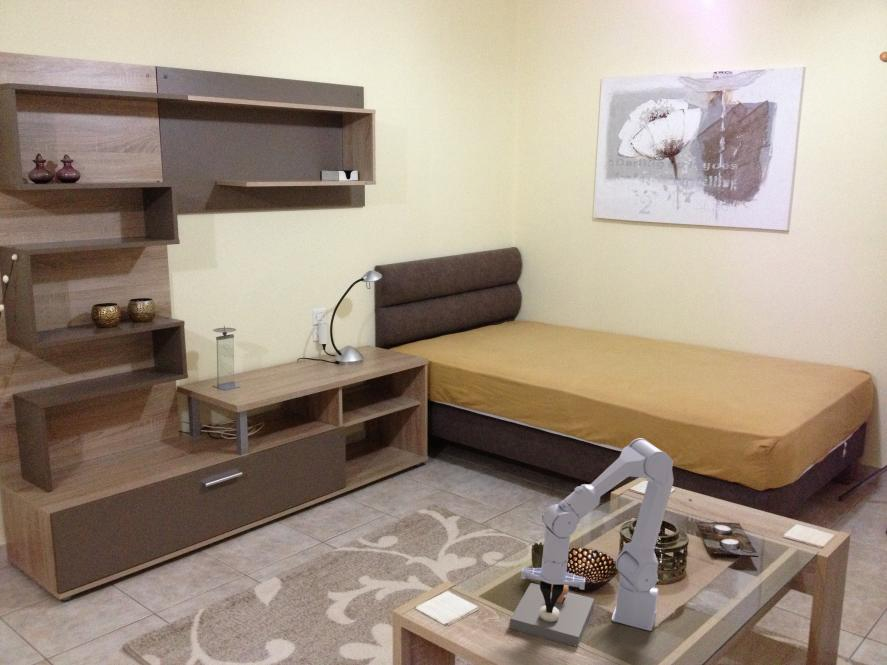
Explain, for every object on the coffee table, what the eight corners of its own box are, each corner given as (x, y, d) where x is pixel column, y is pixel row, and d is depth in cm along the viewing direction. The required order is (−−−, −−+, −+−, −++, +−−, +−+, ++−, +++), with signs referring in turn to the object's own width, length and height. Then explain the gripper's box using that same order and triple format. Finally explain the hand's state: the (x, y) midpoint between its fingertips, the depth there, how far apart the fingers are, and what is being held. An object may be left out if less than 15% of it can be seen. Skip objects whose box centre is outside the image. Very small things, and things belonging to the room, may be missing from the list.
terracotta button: (568, 597, 199) (570, 582, 198) (564, 606, 195) (566, 591, 194) (551, 593, 201) (552, 578, 200) (546, 601, 197) (548, 586, 196)
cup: (556, 585, 209) (559, 557, 207) (527, 581, 210) (530, 552, 209) (558, 571, 216) (561, 544, 214) (530, 567, 217) (533, 539, 216)
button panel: (593, 607, 200) (594, 598, 199) (577, 646, 183) (578, 637, 183) (530, 591, 205) (531, 582, 205) (509, 628, 189) (510, 618, 188)
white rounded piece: (559, 623, 191) (561, 608, 190) (554, 633, 187) (556, 617, 186) (541, 618, 193) (542, 603, 192) (536, 628, 189) (538, 612, 188)
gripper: (588, 554, 189) (582, 607, 192) (525, 544, 192) (520, 596, 195) (586, 568, 182) (580, 623, 185) (521, 557, 185) (516, 611, 188)
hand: (549, 610), depth 189 cm, fingers closed, pressing on white rounded piece
